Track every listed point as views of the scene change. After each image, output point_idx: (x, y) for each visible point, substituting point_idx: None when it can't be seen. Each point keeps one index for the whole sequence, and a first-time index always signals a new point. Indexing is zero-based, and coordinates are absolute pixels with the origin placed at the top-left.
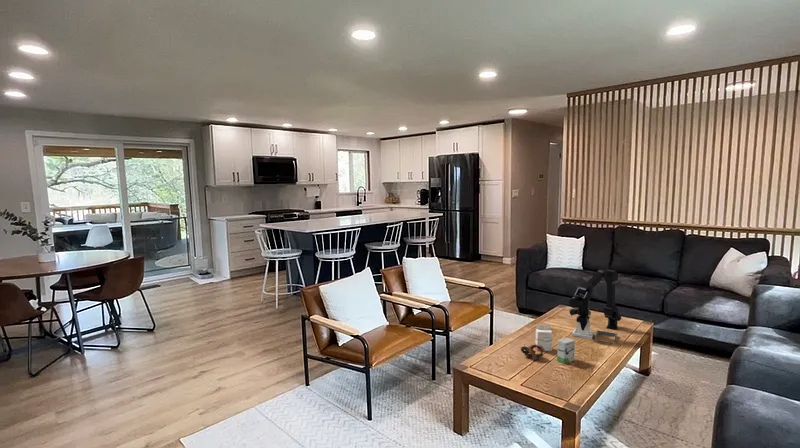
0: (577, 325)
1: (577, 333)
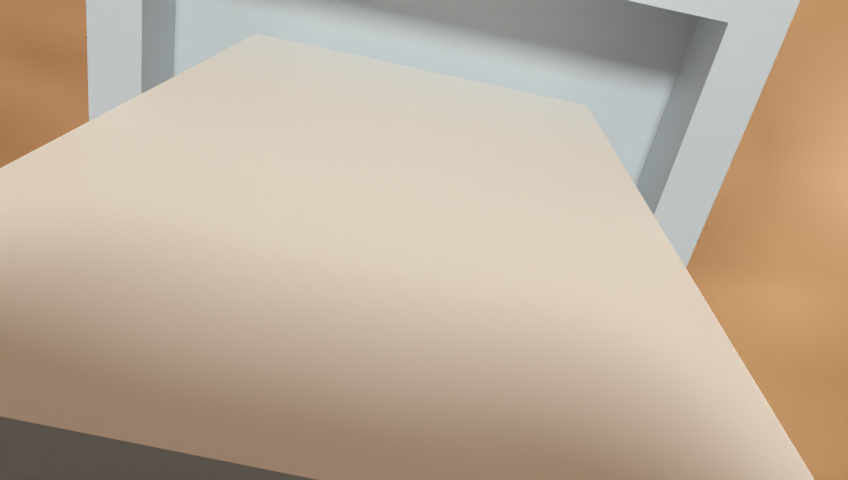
0: (62, 169)
1: (399, 59)
